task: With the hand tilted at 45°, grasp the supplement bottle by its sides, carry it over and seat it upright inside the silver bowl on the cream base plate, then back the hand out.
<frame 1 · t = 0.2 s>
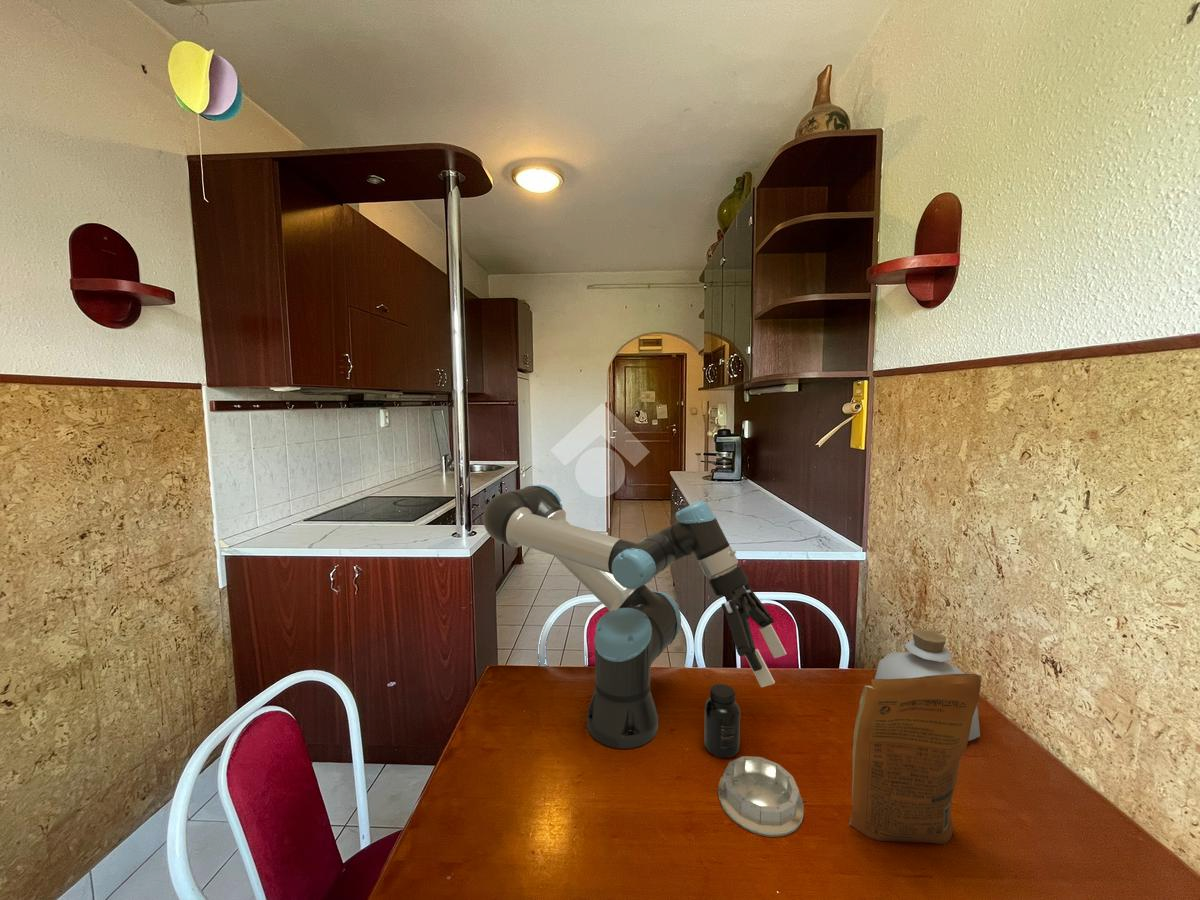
hand: (774, 669, 99), 15 cm above the table, tool tilted 30°, fingers open, 13 cm apart
pancake mix bag: (904, 834, 79), on the table
supplement bottle: (721, 747, 98), on the table
silver bowl: (759, 800, 85), on the table
bottle: (924, 718, 107), on the table
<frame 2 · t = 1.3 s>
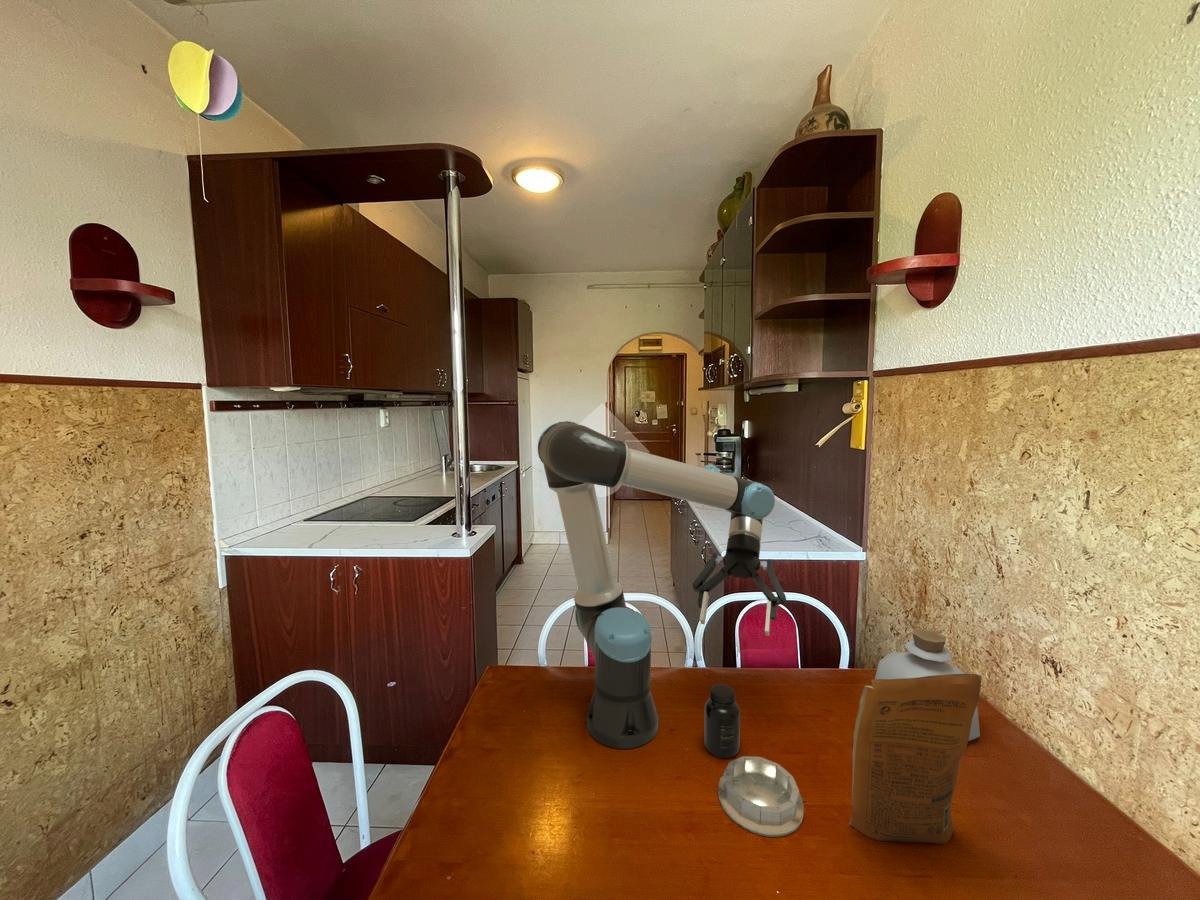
hand: (733, 627, 105), 20 cm above the table, tool tilted 45°, fingers open, 13 cm apart
nothing on the table moved.
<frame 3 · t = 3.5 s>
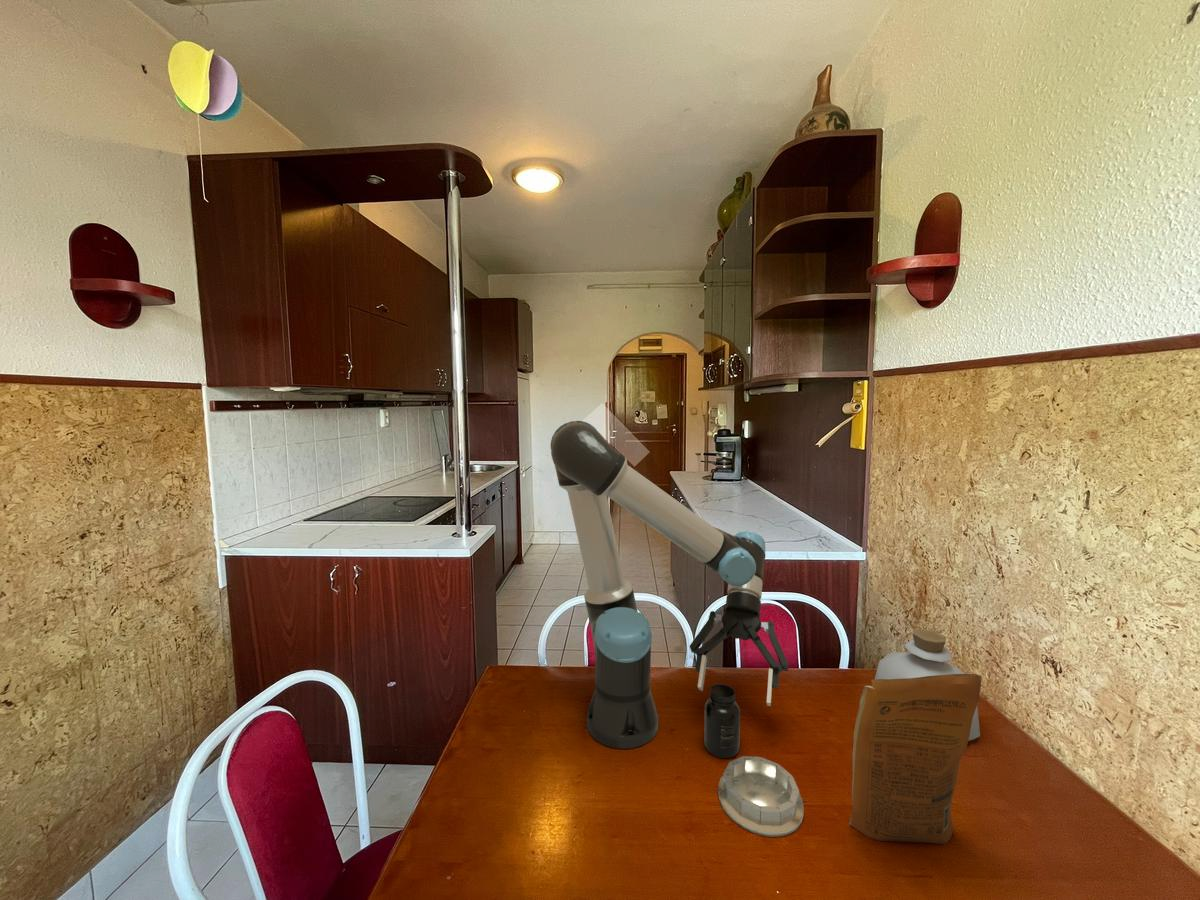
hand: (733, 696, 100), 9 cm above the table, tool tilted 45°, fingers open, 13 cm apart
nothing on the table moved.
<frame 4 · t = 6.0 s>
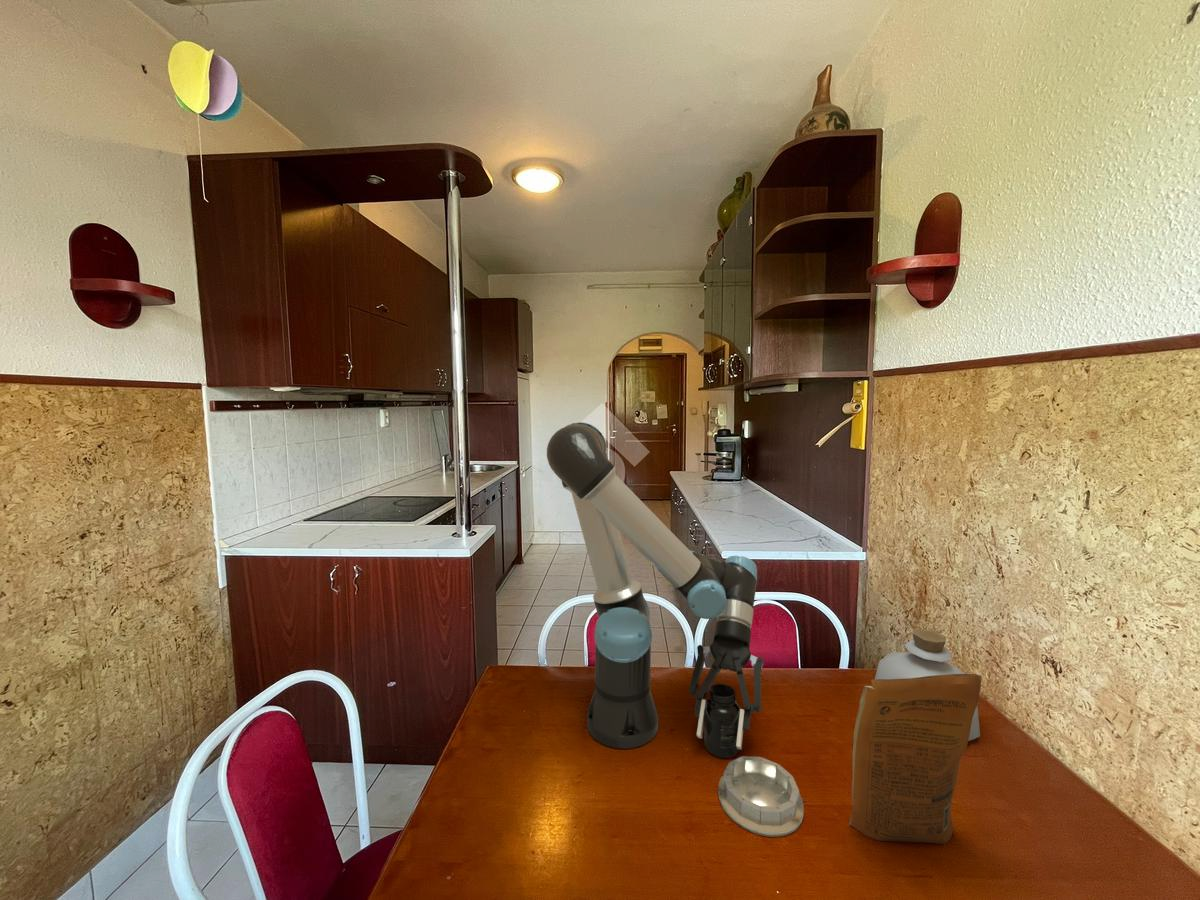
hand: (718, 742, 94), 3 cm above the table, tool tilted 45°, fingers closed on supplement bottle, 7 cm apart
supplement bottle: (721, 747, 98), on the table, touching gripper
everything else where it was.
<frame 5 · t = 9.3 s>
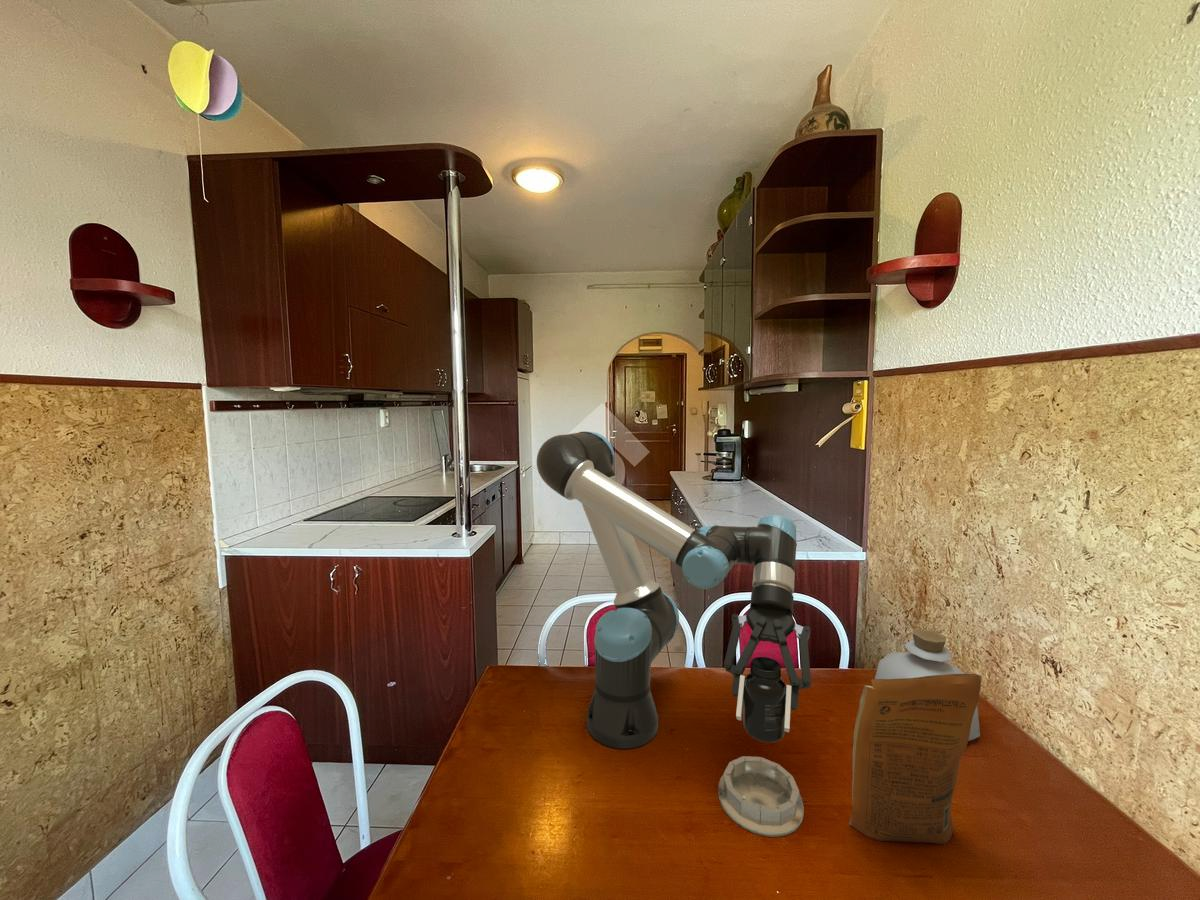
hand: (762, 723, 80), 16 cm above the table, tool tilted 45°, fingers closed on supplement bottle, 7 cm apart
supplement bottle: (763, 731, 84), point 13 cm above the table, touching gripper
everything else where it was.
when the fingers open (6 cm above the table, at t = 12.6 s): supplement bottle drops 1 cm, resting on silver bowl.
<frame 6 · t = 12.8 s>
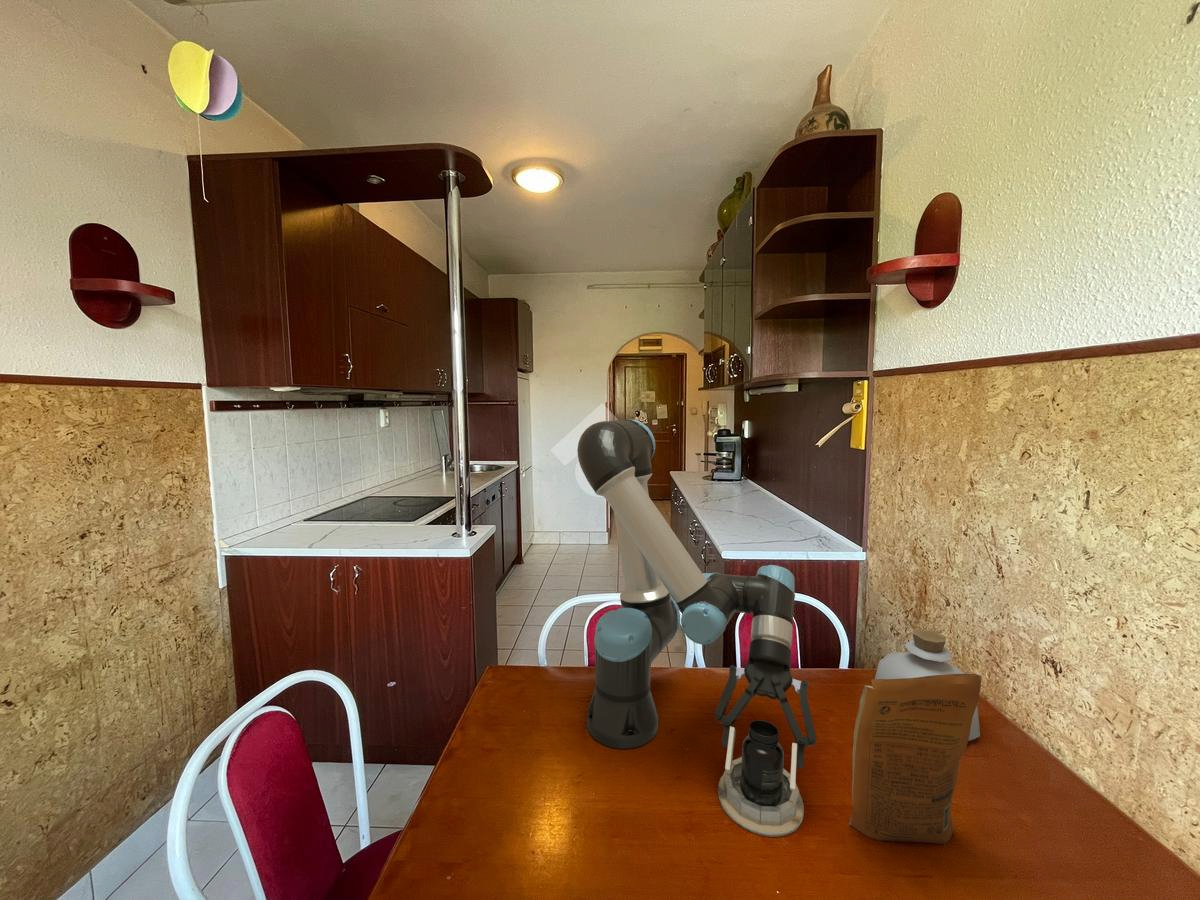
hand: (759, 779, 81), 6 cm above the table, tool tilted 45°, fingers open, 9 cm apart
supplement bottle: (760, 795, 85), point 1 cm above the table, touching silver bowl
everything else where it was.
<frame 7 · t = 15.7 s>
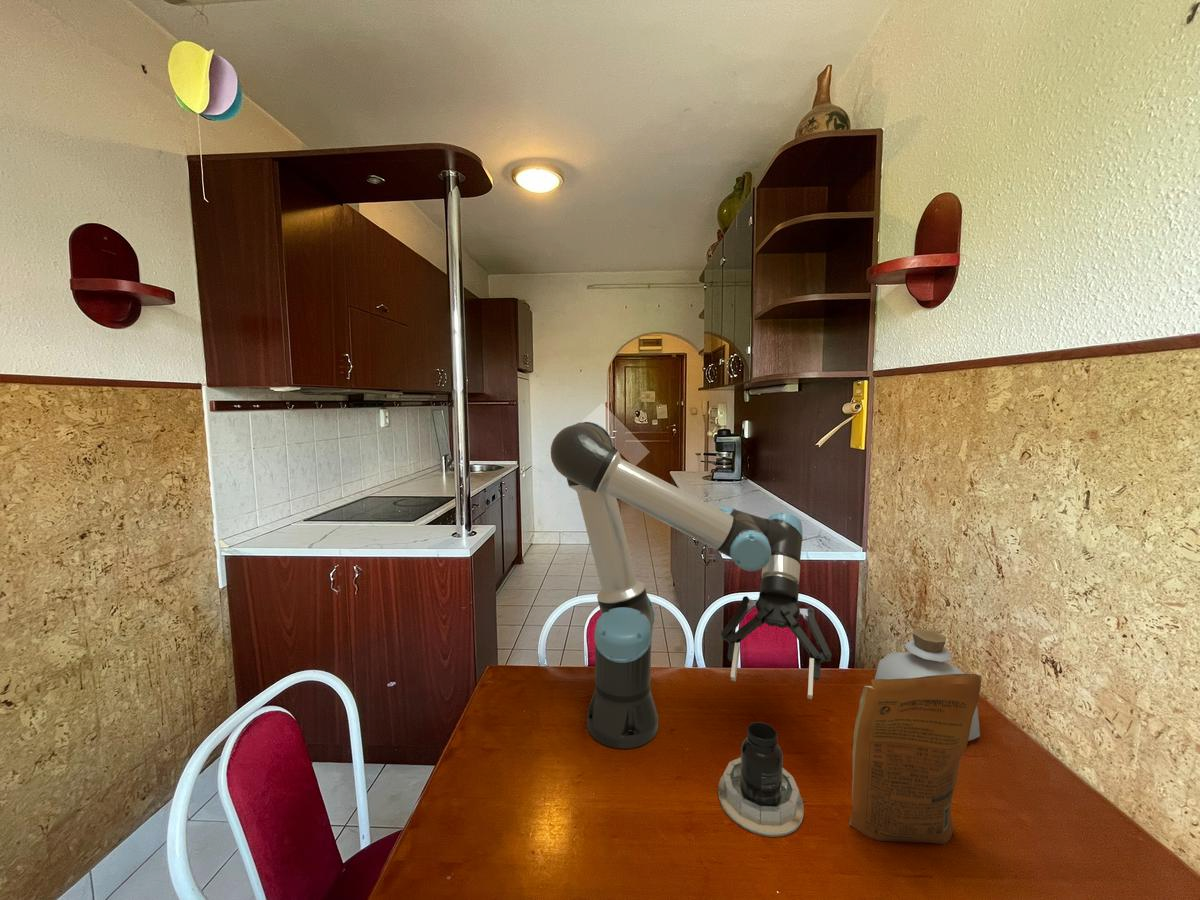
hand: (770, 688, 91), 16 cm above the table, tool tilted 45°, fingers open, 13 cm apart
nothing on the table moved.
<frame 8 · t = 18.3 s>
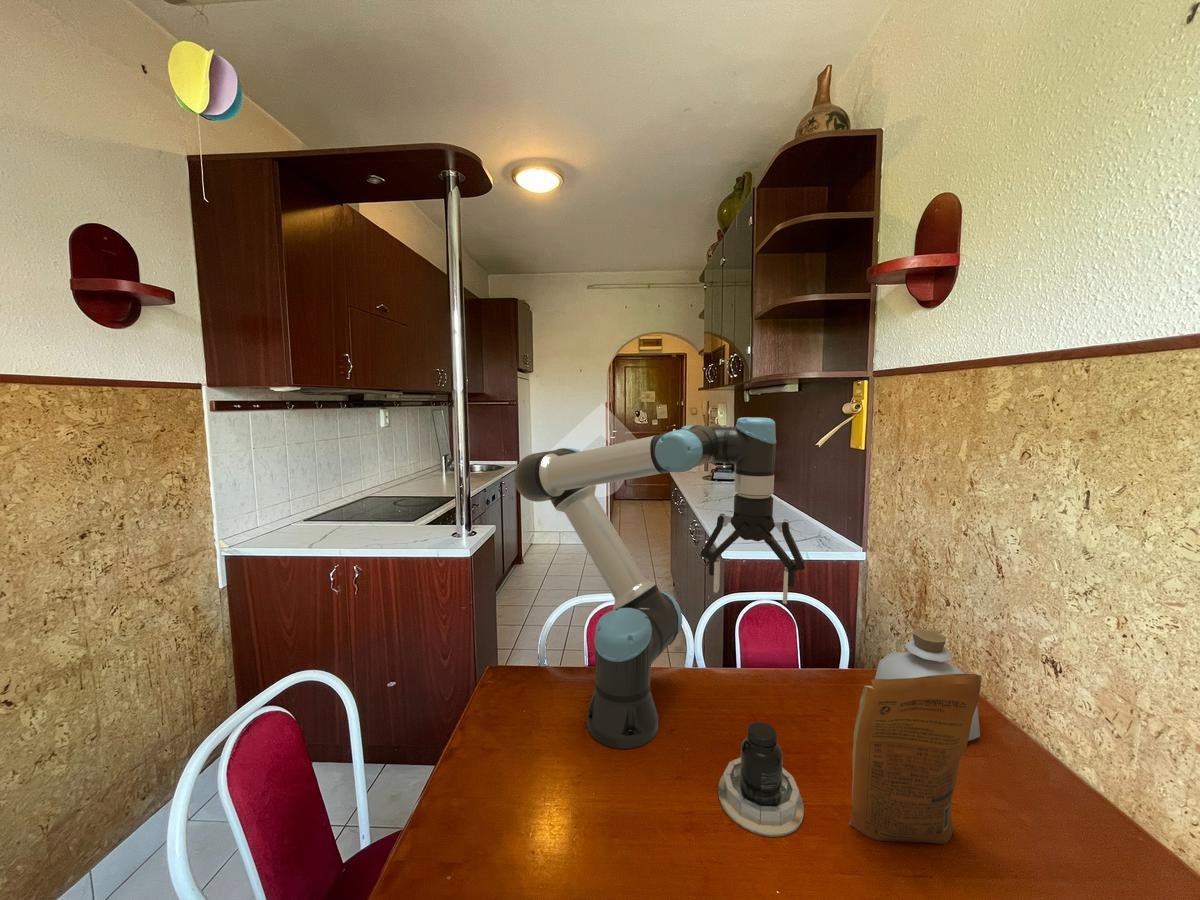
hand: (749, 595, 101), 29 cm above the table, tool pointing down, fingers open, 13 cm apart
nothing on the table moved.
at the end: supplement bottle 0.1 cm off-centre on the silver bowl, point 0.8 cm above the silver bowl's base; supplement bottle tilted 0°; the gripper is holding nothing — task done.
